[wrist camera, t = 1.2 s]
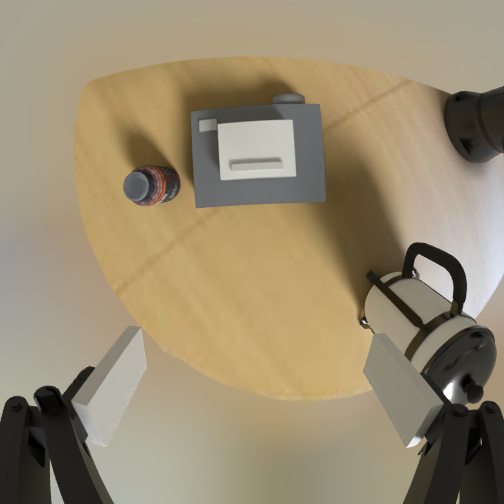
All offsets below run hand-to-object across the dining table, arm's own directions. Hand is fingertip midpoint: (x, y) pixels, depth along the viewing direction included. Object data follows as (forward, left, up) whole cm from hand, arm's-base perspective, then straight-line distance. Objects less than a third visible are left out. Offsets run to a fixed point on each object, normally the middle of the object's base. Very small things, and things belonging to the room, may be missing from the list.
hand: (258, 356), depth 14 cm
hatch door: (0, -13, -25) cm, 28 cm away
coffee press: (-23, +11, -32) cm, 41 cm away
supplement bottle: (+16, -10, -32) cm, 38 cm away
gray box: (0, -14, -32) cm, 35 cm away
